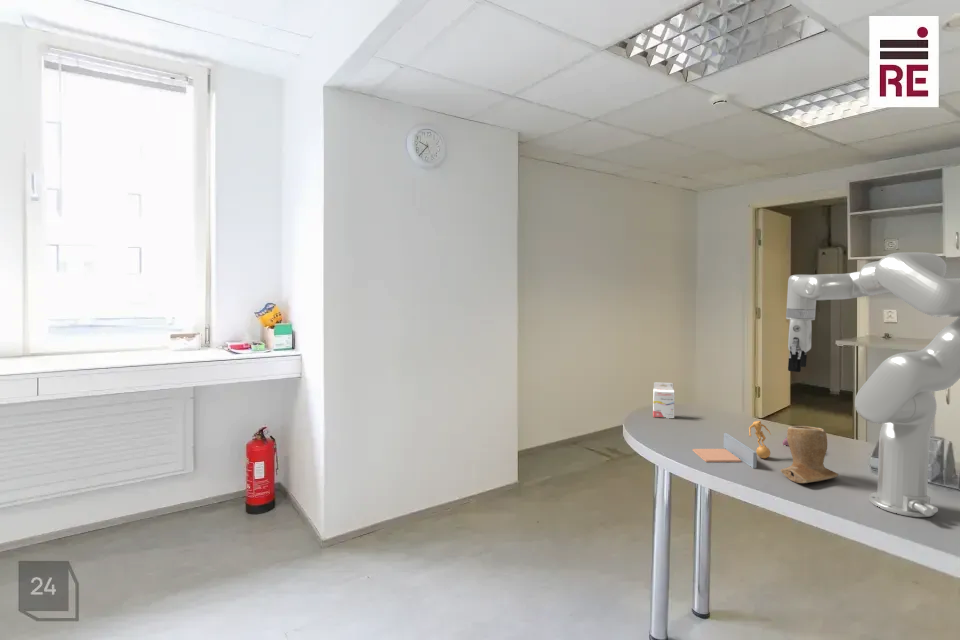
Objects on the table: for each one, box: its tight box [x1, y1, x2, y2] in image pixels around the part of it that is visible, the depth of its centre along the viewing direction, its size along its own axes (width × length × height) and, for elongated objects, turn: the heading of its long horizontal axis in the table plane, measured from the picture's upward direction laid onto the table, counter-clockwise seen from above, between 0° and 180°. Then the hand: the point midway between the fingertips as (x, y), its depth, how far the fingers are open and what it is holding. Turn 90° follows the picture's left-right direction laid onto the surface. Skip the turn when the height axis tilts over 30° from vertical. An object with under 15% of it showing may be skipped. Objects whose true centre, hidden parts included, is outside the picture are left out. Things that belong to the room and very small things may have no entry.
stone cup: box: [780, 425, 839, 484], centre depth 142 cm, size 15×12×15 cm
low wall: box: [723, 432, 758, 469], centre depth 160 cm, size 20×1×5 cm, turn 178°
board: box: [692, 448, 742, 463], centre depth 161 cm, size 11×11×1 cm
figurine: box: [748, 420, 772, 459], centre depth 159 cm, size 8×6×12 cm
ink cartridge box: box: [652, 381, 676, 419], centre depth 209 cm, size 9×5×15 cm, turn 72°
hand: (797, 368), depth 152 cm, fingers open, 9 cm apart
